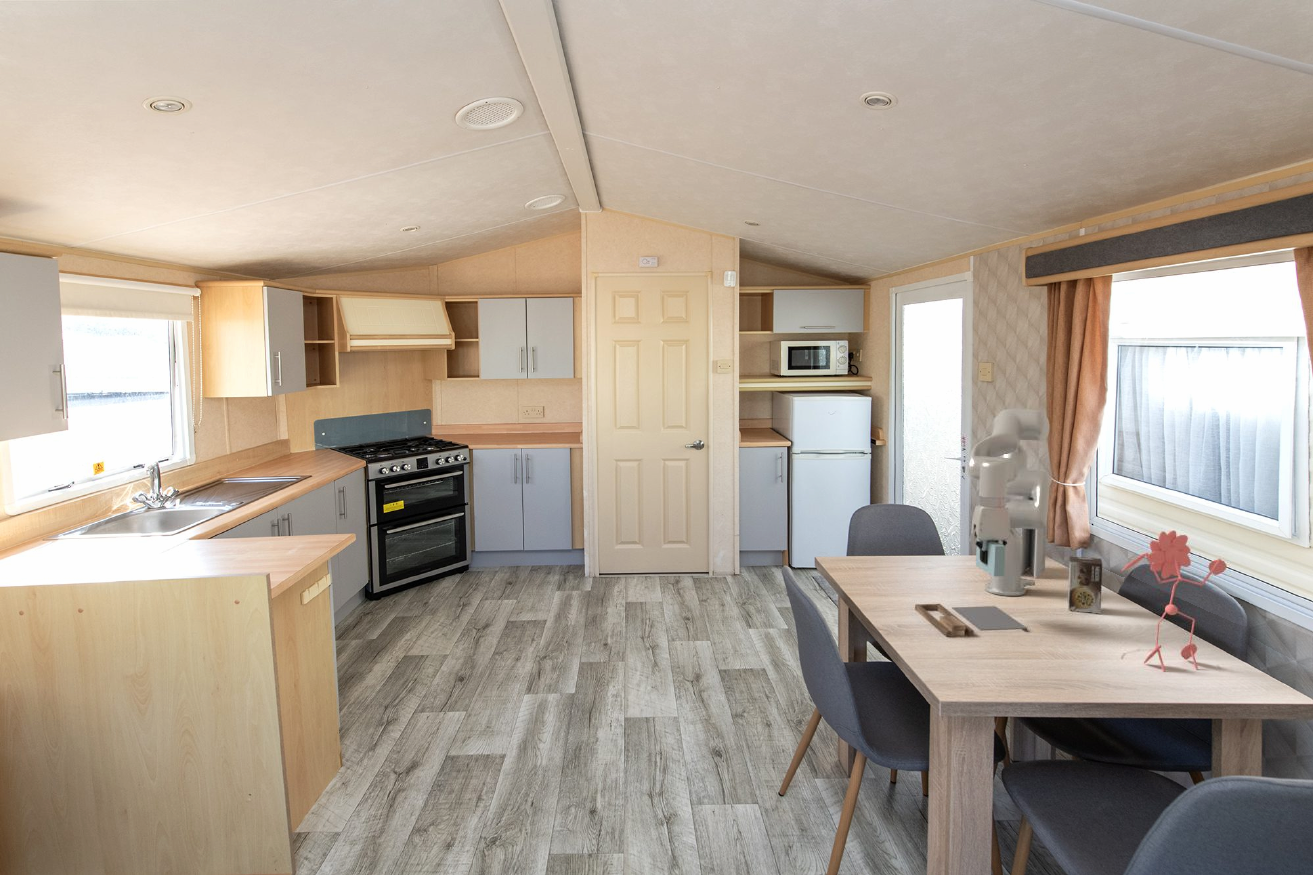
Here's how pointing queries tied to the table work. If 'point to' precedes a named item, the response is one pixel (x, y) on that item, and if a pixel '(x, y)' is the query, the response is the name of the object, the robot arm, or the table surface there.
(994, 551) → the teal rectangular block
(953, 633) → the block
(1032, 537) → the grey upright slab
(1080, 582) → the coffee box
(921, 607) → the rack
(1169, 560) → the figurine
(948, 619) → the offcut top
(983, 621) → the mat
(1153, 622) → the table surface
